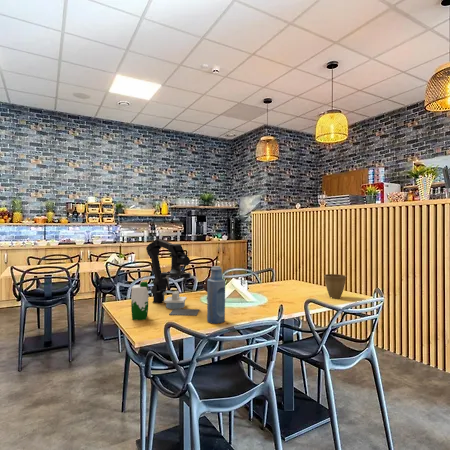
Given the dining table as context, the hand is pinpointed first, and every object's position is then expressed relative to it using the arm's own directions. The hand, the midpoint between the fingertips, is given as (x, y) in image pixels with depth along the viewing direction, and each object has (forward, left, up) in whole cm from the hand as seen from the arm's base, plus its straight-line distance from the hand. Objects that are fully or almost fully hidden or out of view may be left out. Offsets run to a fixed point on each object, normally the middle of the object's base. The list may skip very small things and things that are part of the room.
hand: (175, 288), depth 213 cm
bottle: (+28, -29, -12) cm, 42 cm away
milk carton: (-15, -26, -12) cm, 32 cm away
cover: (0, 0, -7) cm, 7 cm away
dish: (0, 0, -11) cm, 11 cm away
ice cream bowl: (+20, +24, -12) cm, 33 cm away
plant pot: (+109, +34, -12) cm, 115 cm away
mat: (+8, -13, -11) cm, 19 cm away
